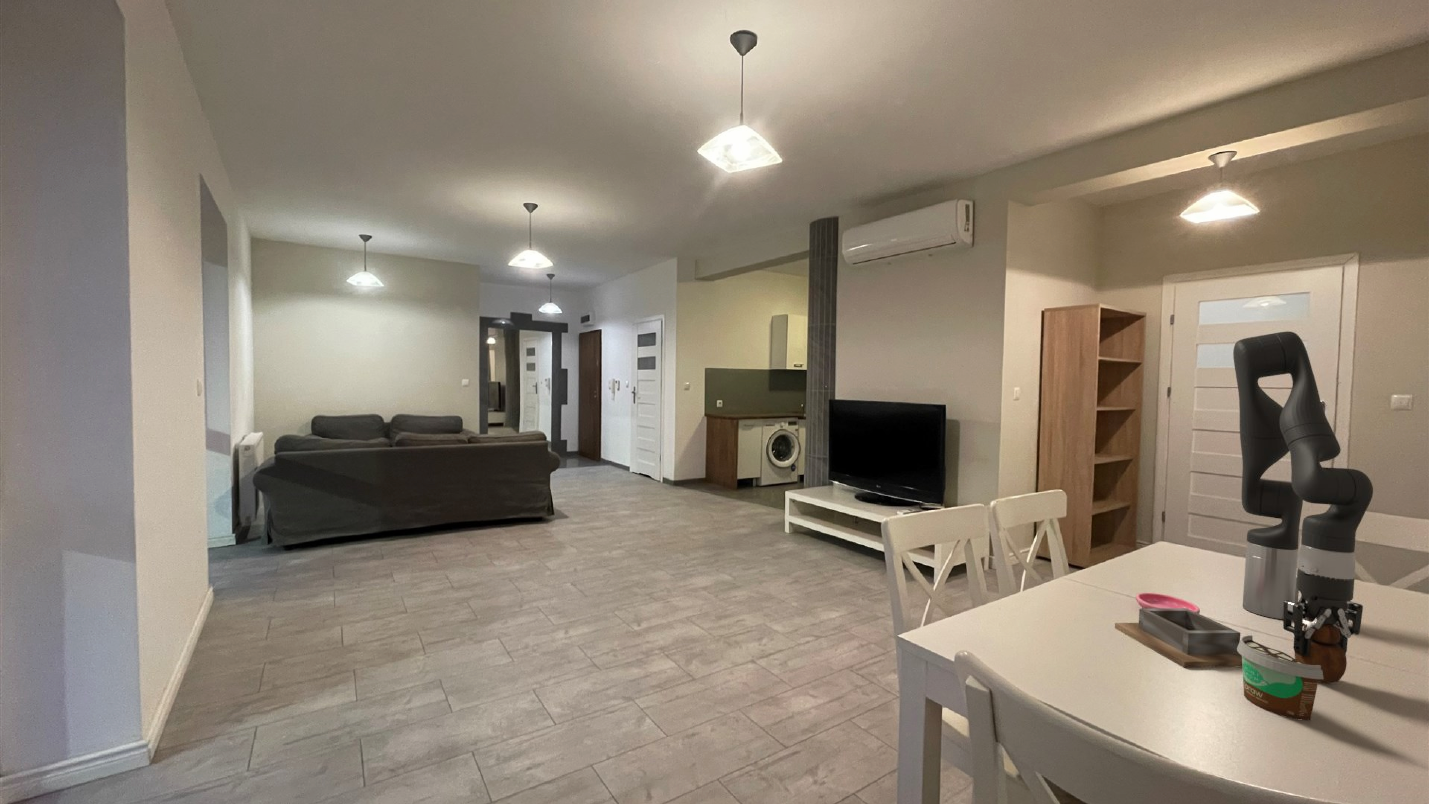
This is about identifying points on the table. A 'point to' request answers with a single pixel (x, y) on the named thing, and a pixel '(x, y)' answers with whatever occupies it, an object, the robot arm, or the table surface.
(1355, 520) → the robot arm
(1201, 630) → the collar board
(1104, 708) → the table surface
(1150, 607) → the saucer
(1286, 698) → the food container
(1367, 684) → the table surface
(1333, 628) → the wooden figurine
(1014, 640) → the table surface
